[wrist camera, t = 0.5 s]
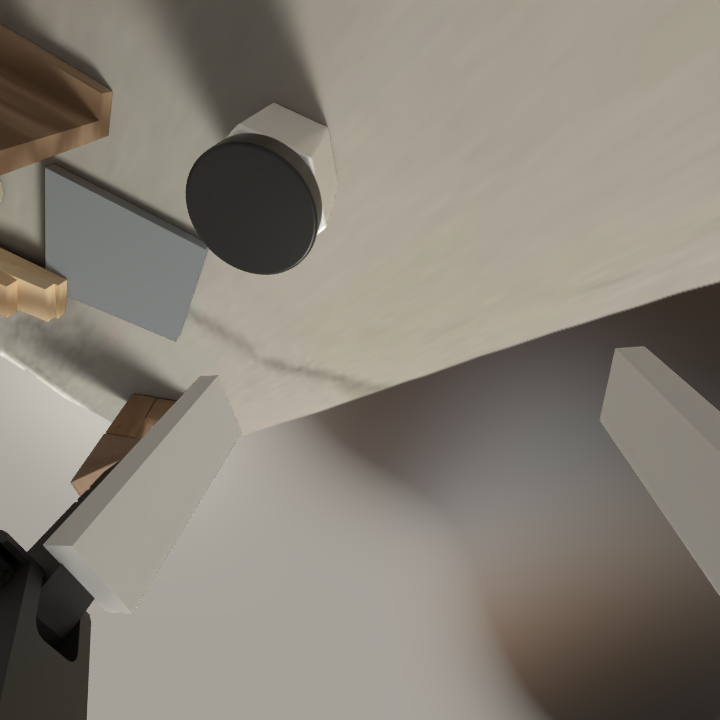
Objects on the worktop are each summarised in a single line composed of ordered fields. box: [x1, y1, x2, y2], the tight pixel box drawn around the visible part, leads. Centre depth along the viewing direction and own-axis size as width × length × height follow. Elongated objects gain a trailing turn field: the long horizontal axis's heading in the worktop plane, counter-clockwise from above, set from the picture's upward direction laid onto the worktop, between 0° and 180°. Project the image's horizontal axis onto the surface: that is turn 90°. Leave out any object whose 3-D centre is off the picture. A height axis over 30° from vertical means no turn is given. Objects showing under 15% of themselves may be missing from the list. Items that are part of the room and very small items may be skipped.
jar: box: [186, 103, 338, 275], centre depth 27 cm, size 9×8×12 cm
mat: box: [45, 164, 209, 342], centre depth 38 cm, size 14×14×1 cm
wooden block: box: [71, 394, 176, 496], centre depth 48 cm, size 4×11×18 cm, turn 79°
